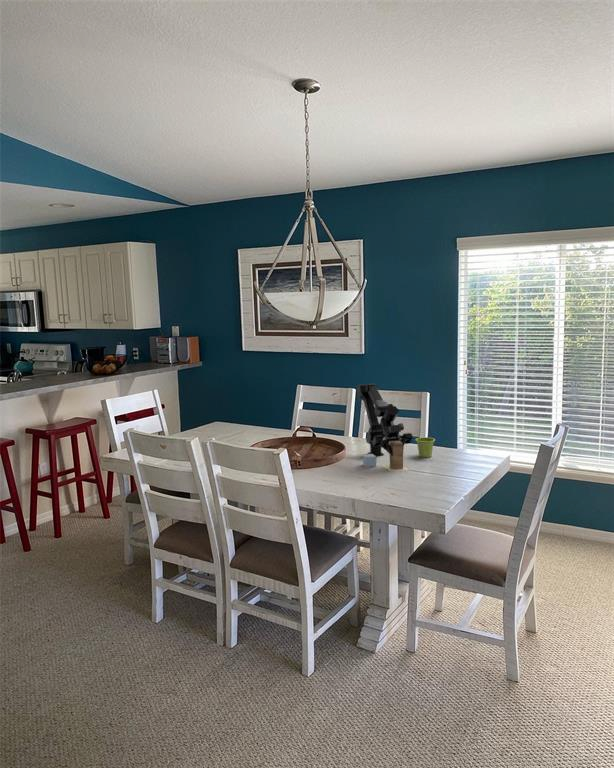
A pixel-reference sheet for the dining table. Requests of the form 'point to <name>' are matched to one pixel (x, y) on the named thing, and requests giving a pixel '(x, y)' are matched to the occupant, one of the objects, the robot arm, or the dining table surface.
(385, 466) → the letter
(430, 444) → the plant pot
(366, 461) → the slate cube
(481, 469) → the dining table surface
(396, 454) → the wooden cuboid post
